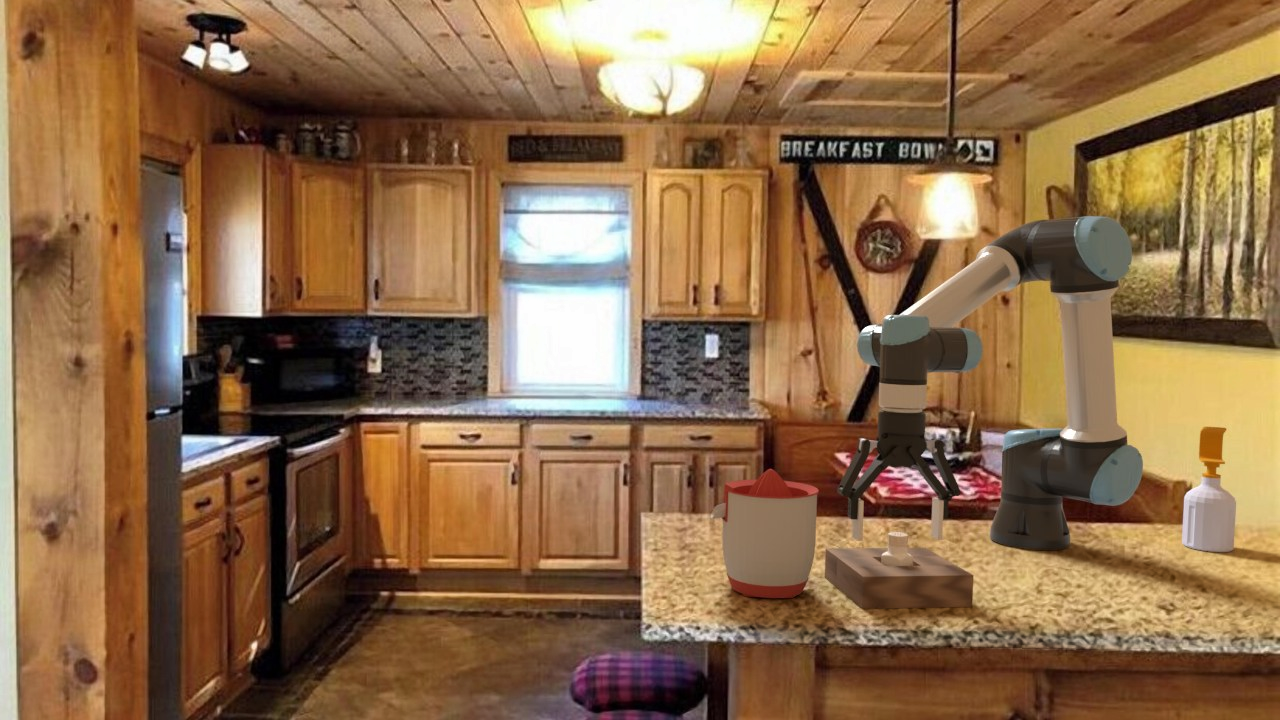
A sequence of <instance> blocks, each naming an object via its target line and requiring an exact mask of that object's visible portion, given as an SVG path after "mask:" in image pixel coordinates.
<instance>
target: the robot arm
mask: <svg viewBox="0 0 1280 720" xmlns="http://www.w3.org/2000/svg"><path fill="white" fill-rule="evenodd" d="M1132 259H1133V251H1132V243H1131V240H1130V238H1129V235H1128V233H1127V232H1126V229H1125V228H1124V227H1123V226H1121V224H1120V223H1119V221H1117V220H1116V219H1114V218H1112V217H1109V216H1100V215H1099V216H1093V215H1092V216H1091V215H1089V216H1088V215H1084V216H1077V217H1076V216H1074V217H1067V218H1055V219H1054V218H1053V219H1037V220H1033V221H1029V222H1027V223H1024V224H1021V225H1020V226H1017V227H1016V228H1013V229H1012V230H1009V231H1008V232H1006V233H1004V234H1002V235H1001V236H999V237H998V238H996V239H994V240H993V241H991V242H990V243H989V244H987V245H985V247H983V248H982V249H980V250H979V251H978V253H977V254H976V258H975V260H974V261H972V262H970V264H968V265H967V266H966V267H964V268H963V269H961V270H960V271H959V272H957V273H956V274H954V275H953V276H952V277H950V278H949V279H947V280H946V281H944V282H943V283H941V284H940V285H939V286H938V287H936V288H935V289H933V290H932V291H930V292H929V293H928V294H927V295H925V296H924V297H922V298H921V299H919V300H918V301H916V302H915V303H914V304H912V305H911V306H910V307H908V308H907V309H905V310H904V311H902V312H901V313H900V314H888V315H886V316H884V318H883V319H882V323H876V324H870V325H868V326H865V327H864V328H863V329H862V330H861V331H860V333H859V335H858V338H857V343H856V347H857V348H856V350H857V353H858V355H859V358H860V359H861V360H862V361H863V363H865V364H866V365H869V366H876V367H879V383H878V388H879V389H878V406H879V407H880V408H882V409H879V411H878V412H877V438H876V439H875V440H872V439H871V440H870V439H867V438H863V437H861V438H860V437H859V438H858V440H857V446H856V447H857V448H856V452H855V453H854V455H853V458H852V459H851V461H850V463H849V465H848V467H847V469H846V471H845V472H844V475H842V479H841V481H840V482H839V484H838V486H837V489H836V491H837V493H838V494H839V495H841V496H843V497H846V498H847V517H848V518H849V519H850V520H852V531H851V532H852V534H851V536H852V538H853V539H854V540H856V541H858V542H863V539H864V538H863V537H864V536H863V535H864V533H863V531H864V512H865V511H864V506H865V505H864V504H865V503H864V502H865V501H864V500H863V499H861V497H862V496H863V495H864V493H865V492H866V491H867V490H868V489H869V488H870V487H871V485H872V484H873V483H874V482H875V481H876V479H878V477H879V476H880V475H881V474H882V473H883V471H885V470H886V469H887V468H888V467H892V468H900V467H905V468H912V466H913V467H914V468H915V469H916V470H917V471H918V473H919V474H920V475H921V477H922V478H923V479H924V480H925V482H926V483H927V484H928V486H929V487H930V488H931V489H932V491H933V492H934V493H935V495H936V496H937V497H932V499H931V525H930V537H931V538H933V539H935V540H937V541H942V540H943V532H944V531H943V530H944V527H943V526H944V525H943V524H944V520H945V519H946V520H947V519H948V517H949V505H950V504H949V502H950V501H952V500H953V498H954V497H959V496H960V495H961V489H960V486H959V483H957V482H958V481H957V480H956V477H955V475H954V473H953V470H952V467H951V466H950V464H949V461H948V458H947V457H946V454H945V449H944V448H945V446H944V445H945V444H944V442H943V440H941V439H939V438H936V437H935V438H934V437H933V438H931V439H929V440H926V439H925V433H926V418H927V416H926V413H925V412H924V411H923V410H925V409H926V408H927V394H928V393H927V389H928V388H927V387H928V374H929V373H955V374H960V373H963V372H970V371H972V370H974V369H975V368H977V366H978V365H979V364H980V362H981V361H982V358H983V350H984V349H983V347H984V346H983V342H982V340H981V338H980V336H979V335H978V333H976V331H974V330H972V329H971V328H963V327H961V326H959V327H958V326H957V327H956V325H957V324H958V323H960V322H961V321H963V320H964V319H965V318H966V317H968V316H969V315H971V314H972V313H973V312H975V311H976V310H977V309H979V308H980V307H982V306H983V305H985V303H987V302H988V301H989V300H991V299H992V298H994V297H995V296H996V295H997V294H999V293H1000V292H1009V291H1011V290H1013V289H1015V288H1016V287H1017V286H1019V285H1021V284H1025V283H1030V282H1040V281H1043V282H1049V286H1050V294H1052V296H1054V298H1056V299H1057V300H1059V301H1058V302H1059V304H1060V307H1059V308H1060V318H1061V319H1060V321H1061V323H1060V324H1061V336H1062V338H1061V340H1062V352H1063V367H1064V369H1063V370H1064V371H1063V372H1064V384H1065V385H1064V386H1065V388H1064V389H1065V400H1066V401H1065V402H1066V403H1065V404H1066V419H1067V425H1066V426H1065V427H1064V428H1061V427H1059V428H1029V429H1028V428H1026V429H1011V430H1009V431H1007V432H1006V433H1005V435H1004V437H1003V443H1002V445H1003V446H1002V449H1001V453H1002V454H1001V480H1000V481H1001V483H1000V486H1001V487H1000V490H1001V491H1000V502H999V505H998V507H997V509H996V513H995V515H994V517H993V520H992V523H991V526H990V529H989V530H990V531H989V532H990V533H989V538H990V540H991V541H993V542H995V543H997V544H1000V545H1004V546H1007V547H1008V546H1009V547H1014V548H1018V549H1026V550H1035V551H1036V550H1037V551H1054V550H1055V551H1057V550H1065V549H1069V547H1070V546H1071V532H1070V529H1069V526H1068V522H1067V519H1066V516H1065V512H1064V508H1063V498H1067V499H1072V500H1077V501H1083V502H1087V503H1092V504H1094V505H1098V506H1100V505H1105V506H1112V507H1113V506H1114V507H1115V506H1120V505H1123V504H1124V503H1126V502H1128V501H1129V500H1130V498H1132V496H1133V495H1135V492H1136V491H1137V489H1138V487H1139V485H1140V483H1141V480H1142V476H1143V471H1144V460H1143V456H1142V454H1141V452H1140V450H1139V449H1138V448H1136V447H1135V446H1133V445H1131V444H1128V433H1127V430H1126V429H1125V428H1123V427H1122V426H1121V425H1119V423H1118V413H1117V409H1118V408H1117V394H1116V377H1115V376H1116V375H1115V357H1114V356H1115V355H1114V340H1113V339H1114V338H1113V322H1112V321H1113V320H1112V319H1113V318H1112V305H1111V303H1112V302H1111V301H1112V300H1111V297H1112V296H1113V295H1114V294H1115V293H1116V291H1117V290H1118V289H1119V288H1120V284H1119V283H1120V282H1119V280H1122V279H1123V278H1125V276H1126V275H1127V274H1128V272H1129V271H1130V265H1132V261H1133V260H1132ZM874 449H875V450H876V451H877V453H878V454H877V455H876V457H875V458H874V459H873V460H872V463H871V464H870V465H869V466H868V467H867V469H866V470H865V471H864V472H863V474H861V476H860V477H859V475H860V473H861V471H862V470H863V468H864V465H865V464H866V462H867V459H868V457H869V455H870V454H871V453H872V452H873V451H874ZM926 450H927V451H928V452H929V453H931V456H932V459H933V461H934V463H935V465H936V469H937V470H938V473H939V475H940V477H941V479H942V482H943V483H942V482H941V481H940V480H939V478H938V477H937V476H936V474H935V473H934V471H932V470H931V468H930V467H929V465H928V463H927V462H926V460H925V459H924V458H923V454H924V453H925V451H926ZM858 477H859V478H858ZM943 484H944V485H943Z"/></svg>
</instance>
